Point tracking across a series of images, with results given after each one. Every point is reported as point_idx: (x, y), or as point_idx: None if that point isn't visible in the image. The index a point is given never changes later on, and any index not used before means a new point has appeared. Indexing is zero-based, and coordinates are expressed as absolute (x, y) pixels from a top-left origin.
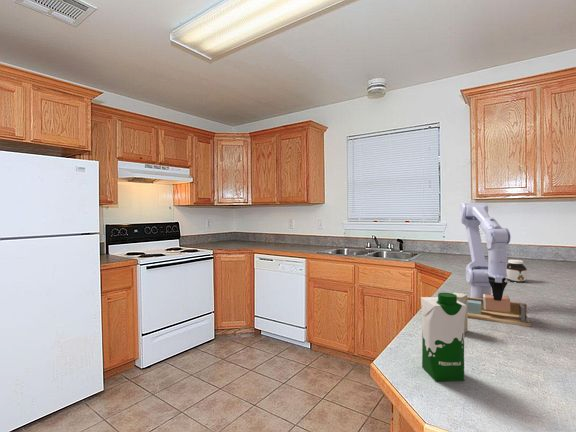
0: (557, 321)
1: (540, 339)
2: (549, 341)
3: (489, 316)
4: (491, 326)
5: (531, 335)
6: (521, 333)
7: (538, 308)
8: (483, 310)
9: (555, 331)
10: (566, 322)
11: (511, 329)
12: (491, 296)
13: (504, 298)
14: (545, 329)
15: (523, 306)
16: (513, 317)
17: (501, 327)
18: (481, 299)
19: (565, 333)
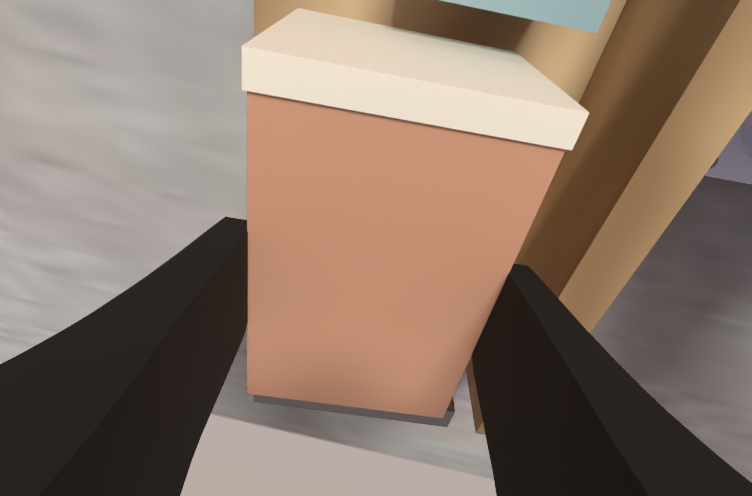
0: (435, 433)
1: (7, 284)
2: (9, 313)
3: None
4: (63, 14)
5: (52, 262)
6: (47, 218)
7: (699, 438)
8: (602, 52)
9: (234, 382)
10: (428, 453)
11: (101, 177)
12: (376, 225)
13: (278, 355)
14: (246, 356)
15: (315, 406)
16: None
17: (101, 110)
18: (701, 67)
19: (225, 404)
